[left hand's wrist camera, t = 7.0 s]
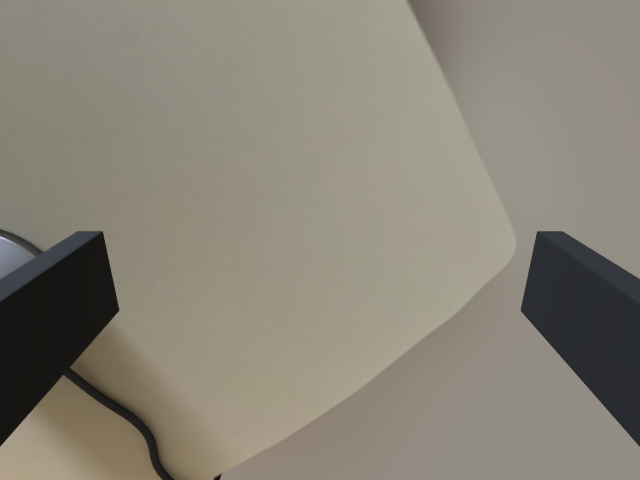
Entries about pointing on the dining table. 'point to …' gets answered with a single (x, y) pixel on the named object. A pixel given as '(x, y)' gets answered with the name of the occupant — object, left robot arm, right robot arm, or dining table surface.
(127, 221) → the dining table surface
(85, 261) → the left robot arm
